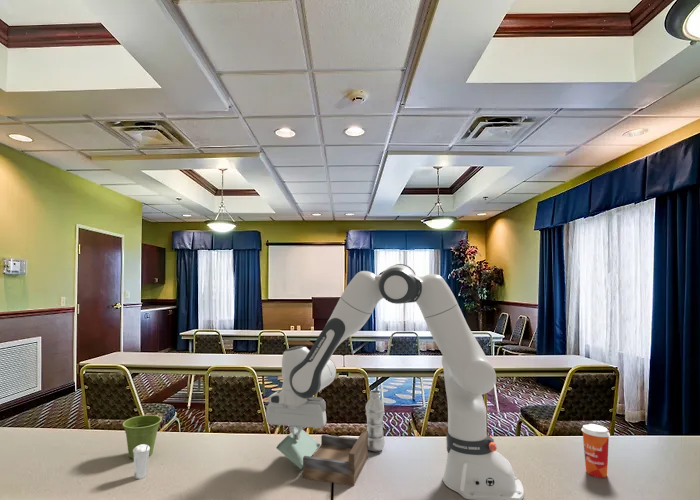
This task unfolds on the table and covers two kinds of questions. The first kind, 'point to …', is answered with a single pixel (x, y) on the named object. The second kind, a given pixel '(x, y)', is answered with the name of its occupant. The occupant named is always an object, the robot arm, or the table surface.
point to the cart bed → (337, 459)
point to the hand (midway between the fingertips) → (296, 439)
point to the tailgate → (298, 447)
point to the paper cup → (596, 449)
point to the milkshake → (140, 460)
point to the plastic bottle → (375, 421)
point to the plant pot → (141, 431)
